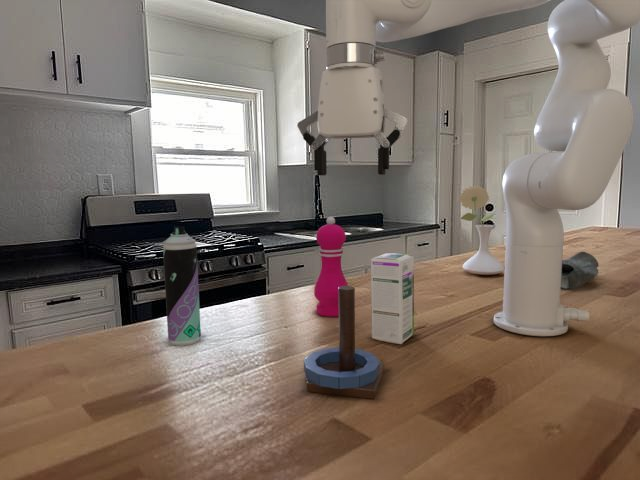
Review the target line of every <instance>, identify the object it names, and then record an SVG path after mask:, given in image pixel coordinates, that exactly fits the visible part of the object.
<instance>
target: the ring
mask: <svg viewBox="0 0 640 480" xmlns="http://www.w3.org/2000/svg"><path fill="white" fill-rule="evenodd" d="M330 362H339V347H326V348H323V349H319V350H317V351H313V352H311V353H309V354H308V355H307V356H306V357H305V358H304V359H303V373H304V376H305V379H306V380H307V381H308V380H309V381H311V382H313V383H315V384H317V385H320V386H323V387H329V388H335V389H346V388H358V387H362V386H364V385H367V384H369V383H372V382H374V381H375V380H376V378H377V376H378V375H379V372H380V363H381V362H380V361H379V359H378V358H377V356H376V354H373V353H371V352H369V351H365V350H363V349H360V348H355V363H356V364H359V365H361V366H363V368H360V369H358V370H355V371H347V372H336V371H329V370H325V369H323V368H321V367H319V366H321V365H324V364H327V363H330Z"/></svg>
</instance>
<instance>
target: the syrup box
mask: <svg viewBox="0 0 640 480" xmlns="http://www.w3.org/2000/svg"><path fill="white" fill-rule="evenodd" d="M370 303H371V304H370V306H371V308H370V309H371V310H370V311H371V338H372V339H373V340H376V341H381V342H386V343H390V344H398V345H403V344H404V343H405V342H406V341H407V340H408V339H409V338H411V337H412V336H414V334H415V256H414V255H413V254H409V253H408V254H407V253H397V252H394V253H391V252H389V253H386V252H385V253H383V254H381V255H378V256H375V257H371V258H370Z"/></svg>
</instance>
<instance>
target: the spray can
mask: <svg viewBox="0 0 640 480" xmlns="http://www.w3.org/2000/svg"><path fill="white" fill-rule="evenodd" d="M196 242H197V241H196V239H194V238H193V237H191V236H189V234H188V233H187V231H185V226H173V232H172V233H170V236H169V237H168V238H167V239H165V240H163V242H162V243H163V245H162V255H163V271H164V290H165V291H164V292H165V309H166V323H167V324H166V325H167V326H166V327H167V339H168V340H167V341H168V343H169V345H171V346H177V347H178V346H179V347H181V346H189V345H194V344H196V343H198V342H200V341H201V339H202V331H201V312H200V309H201V308H200V289H199V287H200V286H199V269H198V251H197V249H198V247H197V243H196Z"/></svg>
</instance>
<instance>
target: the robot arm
mask: <svg viewBox="0 0 640 480" xmlns="http://www.w3.org/2000/svg"><path fill="white" fill-rule="evenodd" d="M551 1H552V0H325V47H326V54H325V56H326V57H325V58H326V59H325V61H326V63H325V64H326V70H323V71H322V74H321V79H320V85H319V93H318V105H317V110H316V111H314V112H313V113H311V114H310V115H308V116H307V117H305V118H304V119H301V120H300V121H298V122H297V129H298V130H299V132H300V134H301V136H302V139H303V140H304V141H305V142H306V144H308V145H309V146H310V148H311V149H312V150H313V160H314V161H313V163H314V166H313V167H314V171H316V174H317V176H326V175H327V173H328V171H327V151H326V150H325V147H326V145H327V144H328V143H329V142H330V140H331V139H334V140H337V139H340V140H341V139H342V140H343V139H369V138H374V139H375V140H376V141H377V142H378V143H379V147H378V148H377V174H378V175H381V176H383V175H386V170H389V169H390V149H391V148H392V146H393V145H394V144H396V142H397V141H398V140H399V139H400V138H401V136H402V134H403V132H404V130H405V129H406V126H407V124H408V122H409V120H408V118H407V117H405V116H404V115H402V114H399V113H397V112H396V111H394V110H391V109H390V108H387V107H385V90H384V81H383V76H382V70H381V69H379V68H378V67H377V65H378V64H379V63H381V62H385V61H386V51H380V50H378V49H377V48H376V47H377V44H376V43H377V42H378V43H390V42H391V43H392V42H397V41H401V40H405V39H411V38H415V37H420V36H423V35H426V34H430V33H433V32H437V31H440V30H444V29H448V28H451V27H452V28H453V27H455V26H456V27H457V26H460V25H463V24H466V23H470V22H473V21H475V20H479V19H485V18H489V17H492V16H493V17H494V16H498V15H502V14H507V13H512V12H518V11H523V10H528V9H532V8H536V7H540V6H541V5H544V4H547V3H549V2H551ZM638 23H640V0H563V1H561V2H560V3H559V4H558V5H556V6H555V7H554V8H553V10H552V11H551V13H550V15H549V17H548V21H547V34H548V38H549V41H550V43H551V45H552V47H553V49H554V52H555V55H556V58H557V63H558V69H557V70H558V71H557V74H556V76H555V78H554V82H553V84H552V86H551V88H550V90H549V93H548V95H547V97H546V100H545V101H544V104H543V106H542V109H541V110H540V112H539V115H538V117H537V119H536V122H535V125H534V128H533V129H534V130H533V137H534V141H535V143H536V144H537V146H539V148H541V149H544V150H545V151H546V150H547V151H548V152H536V153H535V152H534V153H527V154H524V155H522V156H518V157H517V158H515V159H514V160H513V161H511V162H510V163H509V164H508V165H507V167H506V169H505V170H504V174H503V177H502V185H501V186H502V194H503V200H504V207H505V248H504V249H505V252H504V268H505V269H504V271H503V272H504V273H503V275H504V276H503V278H504V279H503V297H502V298H503V299H502V311H498V312H496V313H495V314H494V315H493V323H494V325H495V326H497V327H498V328H500V329H502V330H503V331H507V332H510V333H514V334H518V335H524V336H532V337H554V336H555V337H557V336H561V335H564V334H565V333H567V332H568V330H569V322H570V321H577V322H589V321H590V311H589V310H583V309H578V308H577V307H565V306H564V305H563V304H562V303H561V289H562V288H561V273H562V260H563V254H564V253H563V252H564V240H565V233H564V224H563V221H562V217H561V215H560V212H559V210H565V211H579V210H585V209H588V208H589V207H591V206H593V205H594V204H596V202H597V201H598V200H600V198H601V196H603V194H604V192H605V190H606V189H607V188H608V184H609V183H610V181H611V180H612V179H611V178H612V177H613V174H614V172H615V170H616V168H617V166H618V164H619V161H620V159H621V157H622V155H623V152H624V151H625V148H626V146H627V144H628V142H629V139H630V137H631V134H632V131H633V128H634V127H633V126H634V109H633V104H632V102H631V100H630V99H629V98H628V96H627V95H626V94H624V93H623V92H622V91H619V90H617V89H614V88H608V86H609V83H610V81H611V74H612V71H611V65H610V62H609V60H608V58H607V56H606V55H605V53H604V51H603V49H602V47H601V46H600V44H599V41H598V40H601V39H603V38H607V37H610V36H612V35H616V34H618V33H622V32H624V31H627V30H629V29H631V28H632V27H634V26H635V25H637V24H638ZM386 119H388V120H390V121H392V122H394V123H395V126H394V128H393V130H392V131H391V132H390V133H389V134H388V136H386V135H385V131H386ZM316 123H317V130H318V135H317V136H316V137H315V136H314V135H313V134H312V133H311V130H310V127H311V126H312V125H315V124H316Z"/></svg>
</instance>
